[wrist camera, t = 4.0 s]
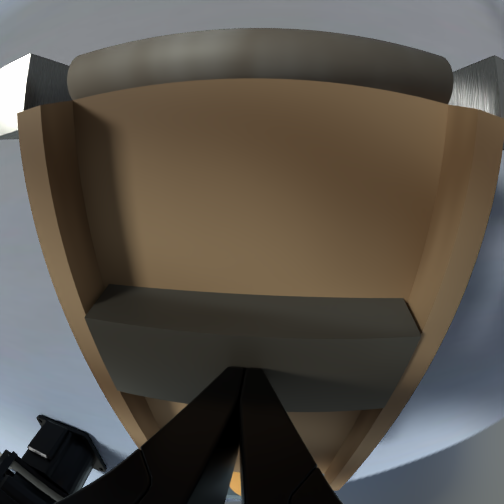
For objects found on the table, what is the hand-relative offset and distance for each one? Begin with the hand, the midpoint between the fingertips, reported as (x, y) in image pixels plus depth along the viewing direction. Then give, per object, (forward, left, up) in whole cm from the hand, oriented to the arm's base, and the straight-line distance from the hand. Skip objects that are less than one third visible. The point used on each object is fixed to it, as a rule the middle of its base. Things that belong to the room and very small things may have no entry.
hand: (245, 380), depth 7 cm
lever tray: (-1, 0, -3) cm, 3 cm away
